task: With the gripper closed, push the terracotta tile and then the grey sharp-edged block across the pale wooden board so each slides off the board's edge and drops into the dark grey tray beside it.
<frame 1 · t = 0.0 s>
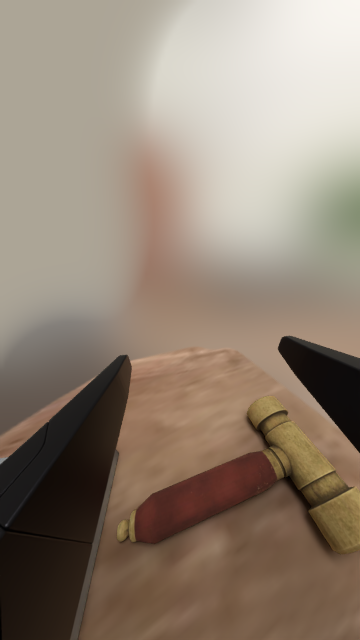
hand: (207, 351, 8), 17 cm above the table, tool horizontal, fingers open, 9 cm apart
tray: (12, 537, 12), on the table
gavel: (225, 488, 14), on the table
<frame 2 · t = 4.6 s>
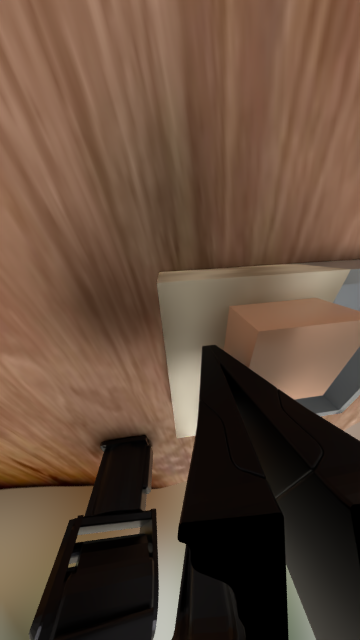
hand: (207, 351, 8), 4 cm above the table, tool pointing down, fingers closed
tile terracotta: (262, 338, 8), point 4 cm above the table, touching gripper
board: (218, 351, 13), on the table
tray: (304, 342, 14), on the table
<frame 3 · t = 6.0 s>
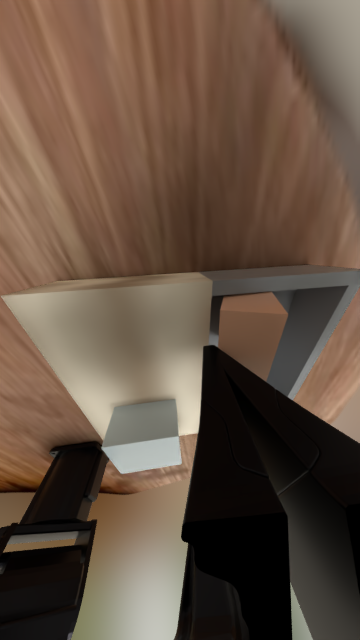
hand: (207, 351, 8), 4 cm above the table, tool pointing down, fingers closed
grey sharp-edged block: (150, 419, 12), point 3 cm above the table, touching board
tile terracotta: (222, 328, 9), point 3 cm above the table, tilted 63°, touching gripper, tray
board: (147, 358, 13), on the table
tray: (238, 348, 14), on the table
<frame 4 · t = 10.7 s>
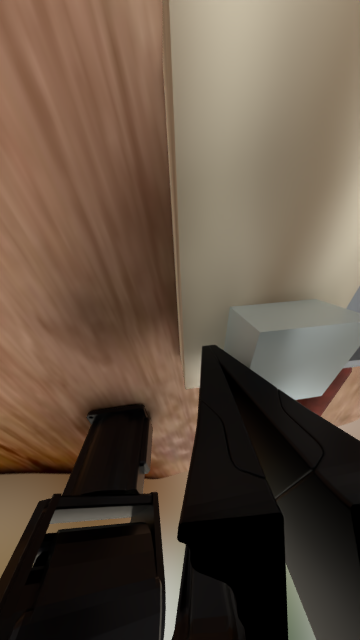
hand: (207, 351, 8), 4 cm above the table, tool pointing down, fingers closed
grey sharp-edged block: (262, 339, 8), point 4 cm above the table, touching gripper
board: (243, 266, 10), on the table
tray: (359, 259, 10), on the table
gavel: (297, 391, 20), on the table
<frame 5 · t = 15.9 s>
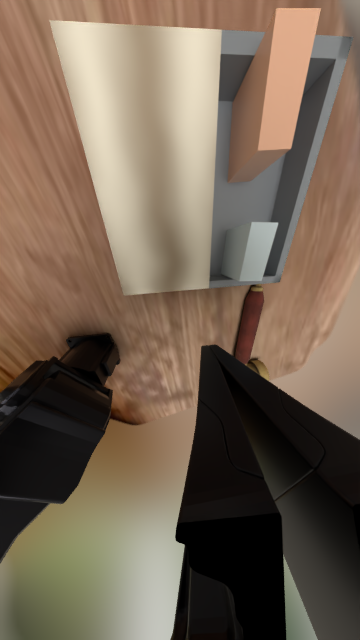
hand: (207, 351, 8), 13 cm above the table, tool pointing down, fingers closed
grey sharp-edged block: (232, 253, 15), point 3 cm above the table, tilted 90°, touching tray
tile terracotta: (243, 124, 10), point 3 cm above the table, tilted 90°, touching tray
board: (159, 212, 15), on the table
tray: (240, 209, 15), on the table
gavel: (240, 333, 25), on the table
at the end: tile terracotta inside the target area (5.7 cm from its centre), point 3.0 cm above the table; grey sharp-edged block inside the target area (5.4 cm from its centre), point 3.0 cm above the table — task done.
